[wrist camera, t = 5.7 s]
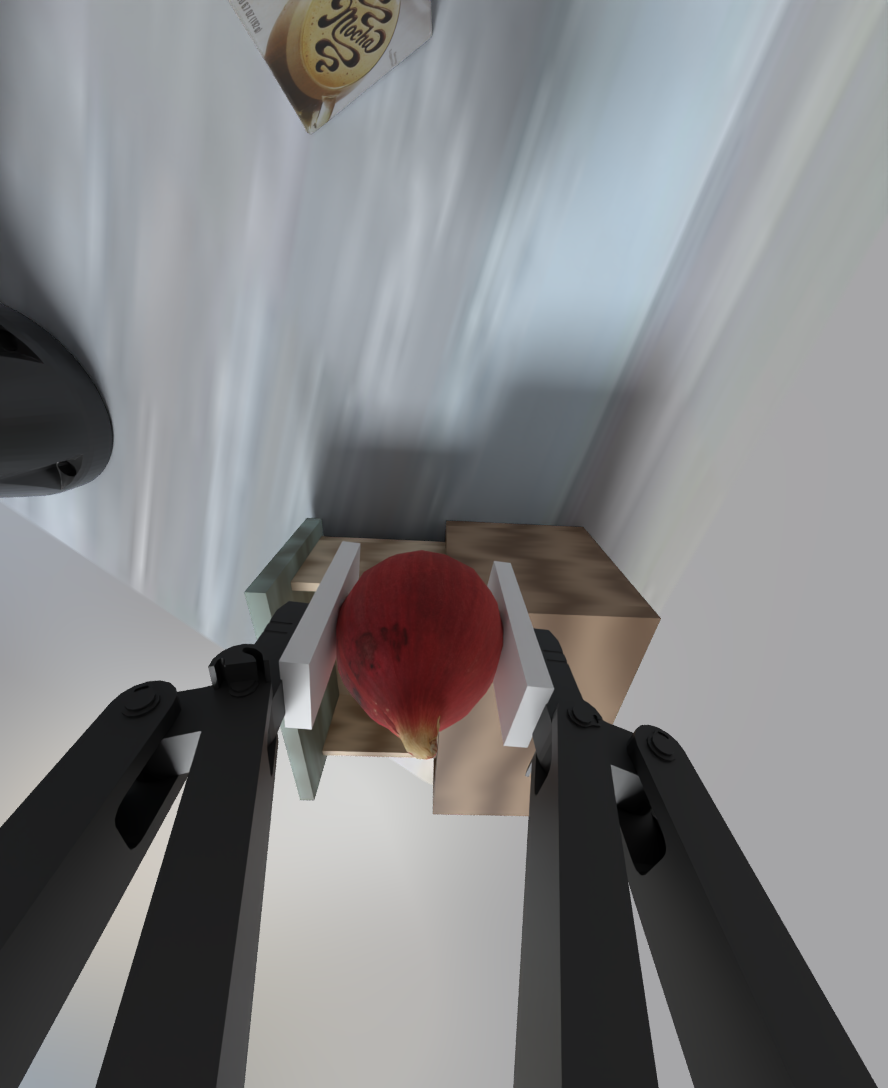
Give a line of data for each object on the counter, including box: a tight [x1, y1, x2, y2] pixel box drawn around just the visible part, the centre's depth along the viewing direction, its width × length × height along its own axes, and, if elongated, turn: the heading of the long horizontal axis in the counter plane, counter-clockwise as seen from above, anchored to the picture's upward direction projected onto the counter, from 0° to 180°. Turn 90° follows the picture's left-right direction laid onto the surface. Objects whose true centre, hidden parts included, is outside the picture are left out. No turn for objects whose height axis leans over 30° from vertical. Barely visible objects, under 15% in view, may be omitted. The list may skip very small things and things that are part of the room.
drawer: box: [244, 518, 446, 800], centre depth 34 cm, size 16×26×12 cm, turn 177°
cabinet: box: [433, 521, 661, 816], centre depth 35 cm, size 14×26×14 cm, turn 177°
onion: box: [336, 550, 503, 759], centre depth 12 cm, size 6×6×8 cm
